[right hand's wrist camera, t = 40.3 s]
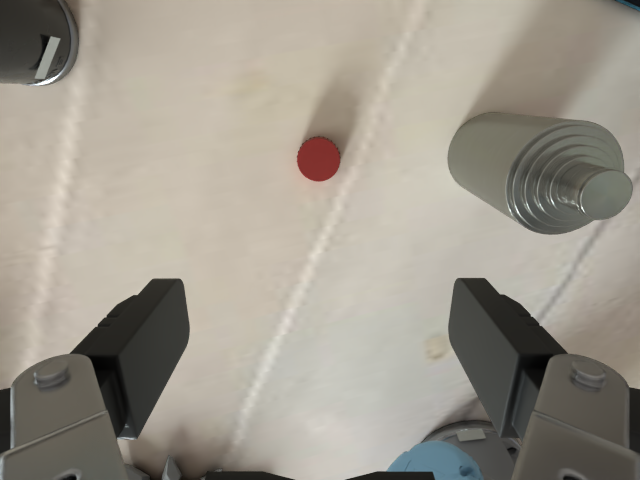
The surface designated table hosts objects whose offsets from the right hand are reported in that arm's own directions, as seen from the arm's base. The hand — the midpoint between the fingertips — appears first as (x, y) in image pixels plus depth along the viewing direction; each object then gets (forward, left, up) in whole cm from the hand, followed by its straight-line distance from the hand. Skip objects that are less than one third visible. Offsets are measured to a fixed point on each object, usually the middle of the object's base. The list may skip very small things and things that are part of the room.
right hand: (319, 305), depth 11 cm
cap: (0, 0, -28) cm, 28 cm away
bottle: (+9, +15, -29) cm, 34 cm away
